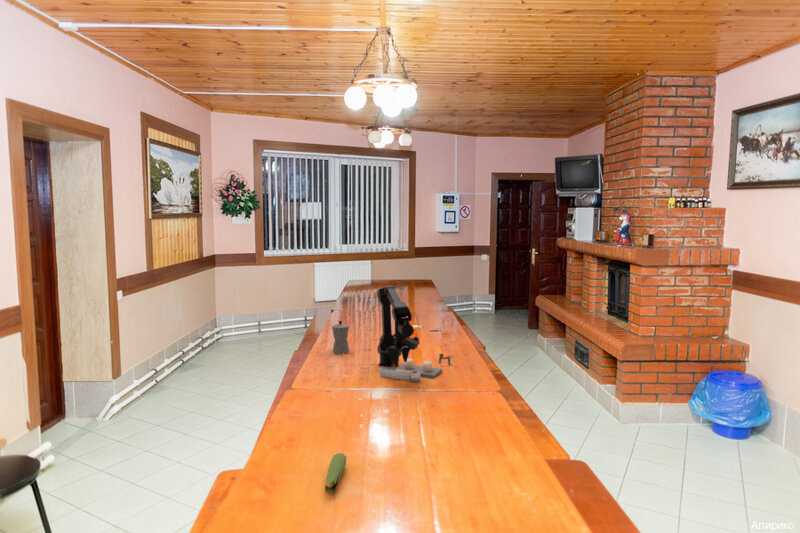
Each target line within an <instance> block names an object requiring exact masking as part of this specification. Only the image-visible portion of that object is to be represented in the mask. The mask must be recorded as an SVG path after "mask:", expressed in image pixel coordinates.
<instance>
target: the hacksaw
mask: <svg viewBox="0 0 800 533" xmlns="http://www.w3.org/2000/svg"><path fill="white" fill-rule="evenodd" d="M438 356H439V358H438V365H440V366H439V367H445V365H441V364H442V359H445V360H446V359H447V364H448V367H449V366H450V365H451V367H453V365H452V363H451V358H453V357H454V356H452V355H451V356H450V355H447V356H446V357H445V356H444V354H443V353H440V354H438ZM443 356H444V357H443ZM454 366H455V367H454V368H457V366H456V365H454ZM439 367H438V368H439Z"/></svg>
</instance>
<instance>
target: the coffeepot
mask: <svg viewBox="0 0 800 533" xmlns="http://www.w3.org/2000/svg"><path fill="white" fill-rule="evenodd" d="M342 322H343V321H342V320H339V321H338V324H337V323H336V324H333V325H332V326H331V330H332V333H333V334H332V335H333V338H334V341H333V347H332V348H333V349H332V353H333V352H334V353H335V354H334V353H333V354H334V355H344V354H343V353H346V354H349V353H350V348H349V342H348V340H347V338H348V336H349V328H350V325H348V324H345V323H342Z"/></svg>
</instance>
